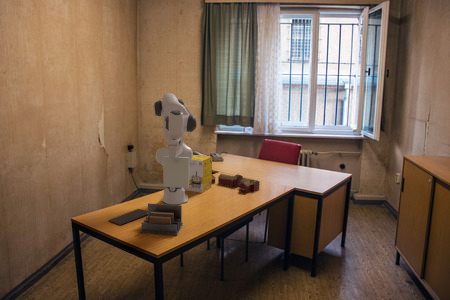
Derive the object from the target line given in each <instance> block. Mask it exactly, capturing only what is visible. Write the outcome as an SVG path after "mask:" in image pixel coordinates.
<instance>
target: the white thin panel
mask: <svg viewBox="0 0 450 300" xmlns="http://www.w3.org/2000/svg"><path fill="white" fill-rule="evenodd" d="M162 169H163V170H162V172H163V173H162V174H163V175H162V176H163V177H162V180H163V182H162V183H163V185H162V187H164V188H166V187H177V188H189V157H177V164H174V160H173V158H169V157H168V156H164V157H163V165H162Z"/></svg>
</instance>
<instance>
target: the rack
mask: <svg viewBox="0 0 450 300" xmlns="http://www.w3.org/2000/svg"><path fill="white" fill-rule="evenodd" d="M182 208H183V206H182V205H180V204H167V203H165V204H163V203H147V211H148V216H145V219H144V220H143V221H142V222H141V229H140V230H139V233H140V234H146V235H147V234H148V235H163V236H174V237H175V236H178V235H179V233H180V231H181V229H182V228H183V226H184V225H183V221H182V217H183V215H182V213H183V212H182V211H183V209H182ZM151 212H162V213H174V222H173V221H171V224H160V223H149V217H150V213H151Z"/></svg>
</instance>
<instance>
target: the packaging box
mask: <svg viewBox="0 0 450 300" xmlns="http://www.w3.org/2000/svg"><path fill="white" fill-rule="evenodd" d="M212 171H213V157H212V156H207V155H206V156H205V155H197V154H193V157H192V159H191V160H190V161H189V188H184V189H185V191H188V192H194V193H199V194H202V193H203V194H204V193H205V192H207V191H208V190H210V189H211V188H212V185H213V184H212V175H213V174H212Z"/></svg>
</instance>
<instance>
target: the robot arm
mask: <svg viewBox="0 0 450 300" xmlns="http://www.w3.org/2000/svg"><path fill="white" fill-rule="evenodd" d="M152 106H153V107H152V108H153V113H154V114H155V116H157V117H163V121H162V127H163V137H164V140H165V142H166V145H168V146H165V147H159V148H158V149H157V150H156V152H155V159H156V161H157V162H158V163H159V164H160V165H162V166H163V157H164V156H168V157H169V158H173V160H174V164H177V157H189V161H190V160H191V159H192V157H193V155H194V152H193V150H192V148H191V147H190V146H188V145H187V144H186V143H185V132H186V133H187V132H188V133H192V132H194V131H195V130H196V128H197V124H198V123H197V119H196V117H195V116H194V115H193V114H192V113H191V111H190V110H189V109H188V107H186V106H187V105H186V103H185V101H184V100H183V99H180V98H179V99H178V98H177V97H176V94H174V93H171V92H167V93H165V94H164V95H163V96H162V98H161V100H158V101H157V100H156V101H154V104H153V105H152ZM185 192H186V190H185V189H184V188H177V187H164V189H163V197H162V198H161V200H160V202H164V203H165V204H167V205H180V204H184V203H185V204H186V203H188V202H189V196H188V194H186V193H185Z"/></svg>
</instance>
